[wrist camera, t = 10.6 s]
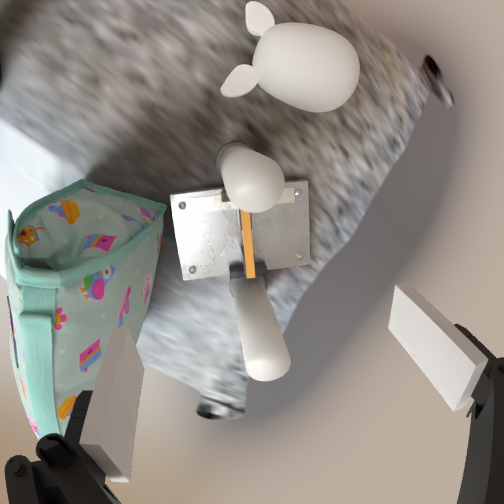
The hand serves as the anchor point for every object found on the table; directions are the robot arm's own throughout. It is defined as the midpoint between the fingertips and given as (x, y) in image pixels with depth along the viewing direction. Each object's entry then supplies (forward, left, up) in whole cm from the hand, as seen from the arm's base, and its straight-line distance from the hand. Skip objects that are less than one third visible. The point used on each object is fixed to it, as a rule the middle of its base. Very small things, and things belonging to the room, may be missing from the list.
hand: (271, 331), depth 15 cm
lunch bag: (-19, -6, -30) cm, 36 cm away
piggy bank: (+8, +18, -30) cm, 36 cm away
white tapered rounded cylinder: (+1, -13, -30) cm, 33 cm away
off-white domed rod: (+1, +5, -30) cm, 31 cm away
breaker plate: (+1, -4, -30) cm, 30 cm away
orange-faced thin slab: (+1, -4, -28) cm, 28 cm away
